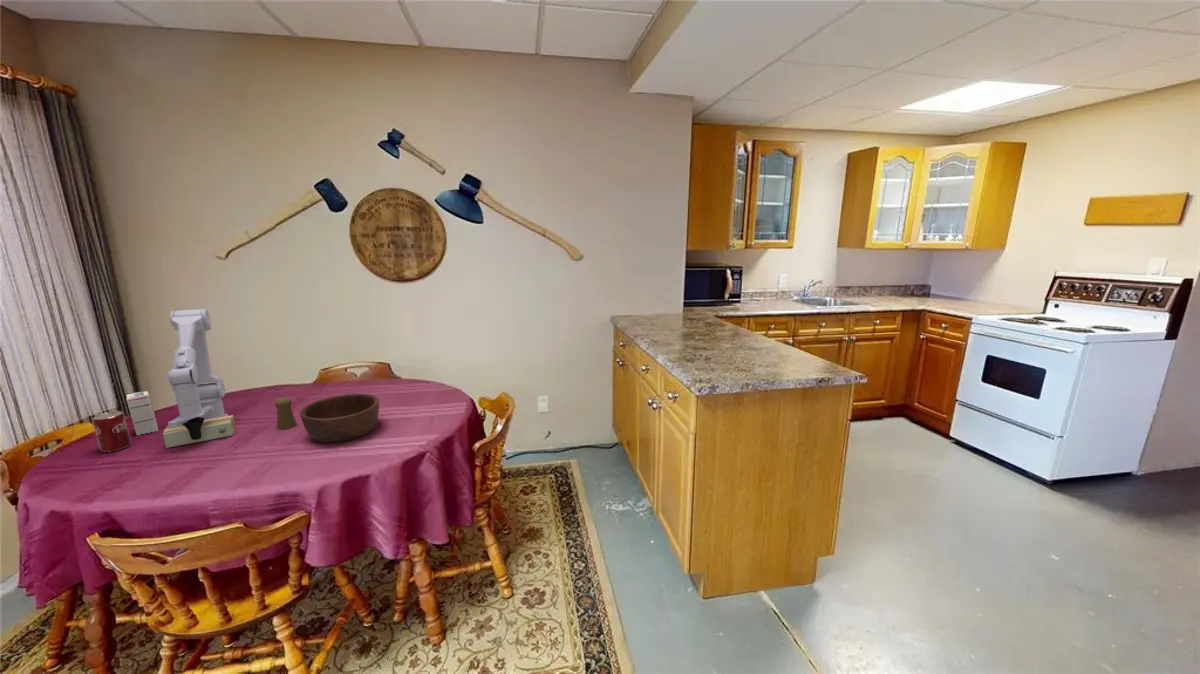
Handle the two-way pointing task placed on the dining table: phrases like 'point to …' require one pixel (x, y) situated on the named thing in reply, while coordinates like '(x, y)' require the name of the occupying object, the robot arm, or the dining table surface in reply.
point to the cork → (284, 413)
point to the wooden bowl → (340, 417)
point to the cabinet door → (206, 434)
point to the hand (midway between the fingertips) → (196, 438)
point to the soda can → (111, 431)
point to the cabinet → (207, 422)
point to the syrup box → (142, 412)
